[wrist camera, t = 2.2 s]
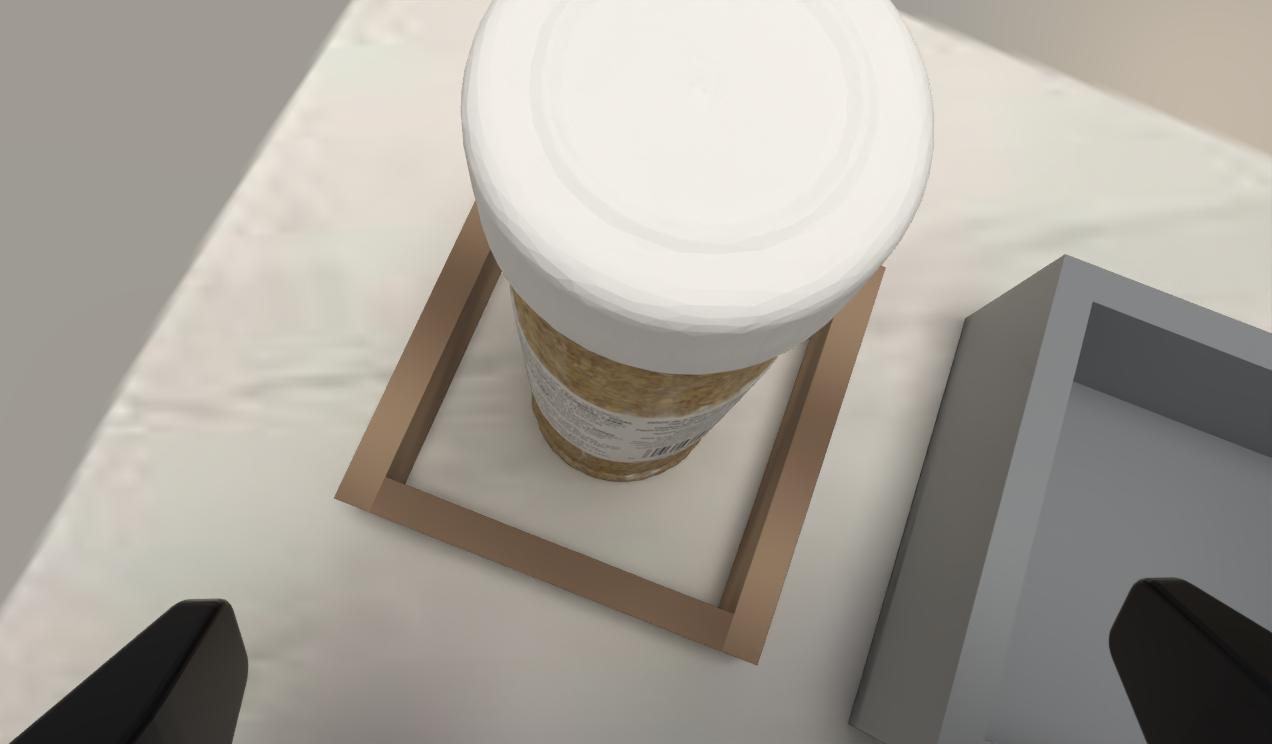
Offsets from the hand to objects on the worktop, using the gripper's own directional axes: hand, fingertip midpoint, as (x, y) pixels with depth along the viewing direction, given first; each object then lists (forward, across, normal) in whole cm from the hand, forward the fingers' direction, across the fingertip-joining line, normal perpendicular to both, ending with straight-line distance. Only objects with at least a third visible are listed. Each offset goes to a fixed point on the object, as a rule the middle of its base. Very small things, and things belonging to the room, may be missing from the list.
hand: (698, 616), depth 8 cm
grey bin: (+8, -12, +8) cm, 17 cm away
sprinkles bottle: (+12, 0, +5) cm, 13 cm away
